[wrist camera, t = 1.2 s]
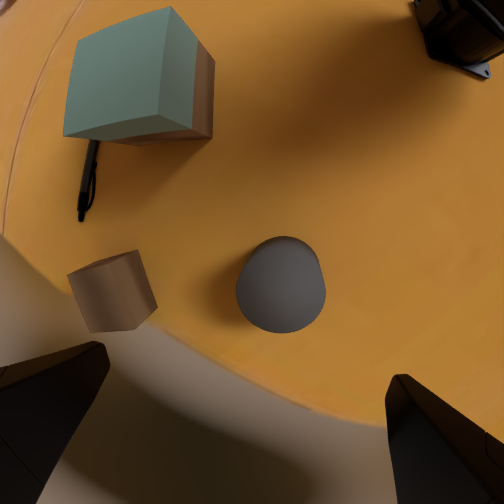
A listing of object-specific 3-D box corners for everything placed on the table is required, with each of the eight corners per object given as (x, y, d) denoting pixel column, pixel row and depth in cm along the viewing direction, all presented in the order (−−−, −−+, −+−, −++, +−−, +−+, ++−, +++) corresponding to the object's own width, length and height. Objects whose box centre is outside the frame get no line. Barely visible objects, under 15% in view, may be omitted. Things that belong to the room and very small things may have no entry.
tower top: (198, 38, 12) (170, 6, 8) (191, 129, 14) (157, 114, 10) (115, 59, 13) (78, 40, 9) (106, 141, 15) (62, 136, 11)
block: (138, 248, 20) (109, 263, 17) (158, 306, 21) (134, 330, 18) (96, 260, 21) (67, 275, 18) (115, 312, 22) (90, 332, 19)
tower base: (215, 62, 16) (197, 38, 12) (212, 138, 17) (191, 128, 14) (142, 75, 17) (114, 59, 13) (138, 146, 18) (106, 141, 15)
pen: (93, 222, 21) (88, 225, 20) (78, 218, 21) (72, 221, 20) (132, 65, 17) (128, 62, 16) (115, 64, 17) (111, 60, 16)
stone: (322, 237, 18) (329, 252, 14) (316, 306, 19) (320, 335, 15) (248, 234, 19) (235, 248, 15) (247, 302, 20) (236, 329, 16)
